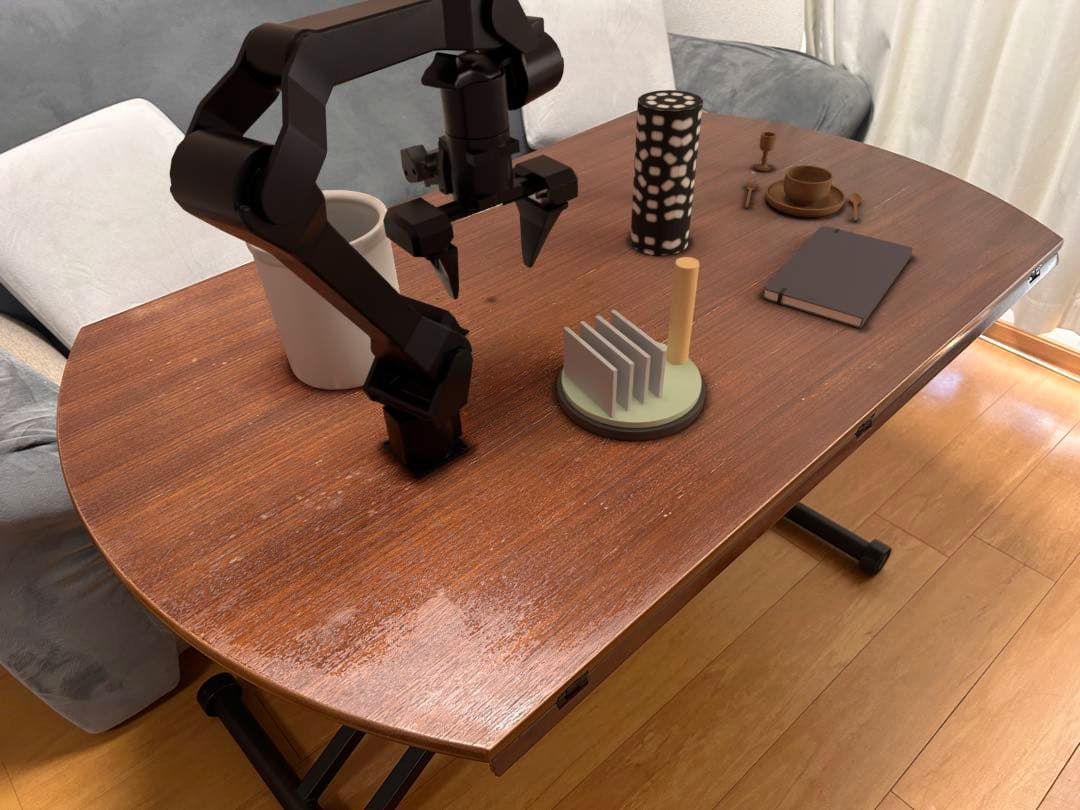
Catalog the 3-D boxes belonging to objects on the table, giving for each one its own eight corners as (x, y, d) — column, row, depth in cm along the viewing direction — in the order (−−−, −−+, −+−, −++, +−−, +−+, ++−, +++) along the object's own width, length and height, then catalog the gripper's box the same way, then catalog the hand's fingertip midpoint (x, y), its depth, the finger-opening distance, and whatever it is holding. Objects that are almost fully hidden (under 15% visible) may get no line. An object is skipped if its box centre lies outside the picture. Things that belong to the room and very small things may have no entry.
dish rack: (730, 395, 80) (748, 291, 72) (614, 447, 74) (619, 340, 66) (644, 329, 90) (651, 231, 82) (536, 370, 84) (532, 269, 76)
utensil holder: (284, 405, 83) (240, 262, 71) (283, 333, 94) (244, 199, 83) (419, 381, 85) (396, 239, 74) (402, 313, 97) (379, 181, 85)
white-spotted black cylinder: (621, 248, 108) (627, 105, 96) (642, 224, 114) (651, 87, 101) (676, 260, 105) (690, 114, 93) (696, 235, 111) (711, 94, 98)
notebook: (860, 329, 91) (910, 257, 104) (863, 318, 90) (913, 247, 103) (760, 298, 97) (819, 234, 110) (762, 288, 96) (821, 224, 109)
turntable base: (630, 463, 74) (630, 454, 73) (527, 388, 84) (527, 379, 83) (734, 395, 82) (736, 386, 81) (629, 334, 92) (630, 325, 91)
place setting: (740, 213, 116) (746, 176, 112) (751, 164, 131) (757, 130, 127) (861, 226, 112) (871, 188, 108) (859, 173, 127) (867, 138, 123)
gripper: (509, 81, 76) (518, 224, 86) (339, 130, 67) (372, 282, 77) (581, 110, 69) (582, 261, 79) (402, 168, 60) (428, 329, 70)
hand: (492, 281), depth 77 cm, fingers open, 9 cm apart
